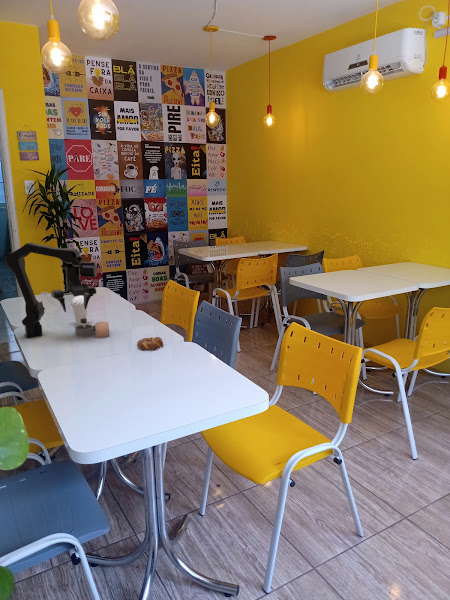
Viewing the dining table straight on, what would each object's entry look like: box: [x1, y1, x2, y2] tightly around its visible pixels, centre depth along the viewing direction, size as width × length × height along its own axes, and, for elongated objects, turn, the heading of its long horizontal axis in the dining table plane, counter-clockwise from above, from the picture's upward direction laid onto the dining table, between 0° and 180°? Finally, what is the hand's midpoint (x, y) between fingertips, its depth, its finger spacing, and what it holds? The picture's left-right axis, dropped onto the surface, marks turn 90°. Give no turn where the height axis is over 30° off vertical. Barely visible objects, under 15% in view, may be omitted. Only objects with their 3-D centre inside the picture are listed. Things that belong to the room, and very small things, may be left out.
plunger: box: [80, 317, 88, 329], centre depth 207 cm, size 6×6×7 cm
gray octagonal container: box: [74, 324, 96, 338], centre depth 208 cm, size 10×8×4 cm
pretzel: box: [136, 336, 164, 351], centre depth 192 cm, size 12×11×4 cm
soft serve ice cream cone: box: [70, 295, 88, 326], centre depth 223 cm, size 8×8×16 cm
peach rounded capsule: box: [94, 321, 110, 339], centre depth 205 cm, size 6×6×6 cm
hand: (75, 310), depth 205 cm, fingers open, 9 cm apart
